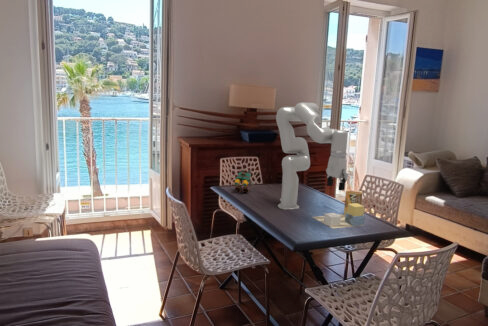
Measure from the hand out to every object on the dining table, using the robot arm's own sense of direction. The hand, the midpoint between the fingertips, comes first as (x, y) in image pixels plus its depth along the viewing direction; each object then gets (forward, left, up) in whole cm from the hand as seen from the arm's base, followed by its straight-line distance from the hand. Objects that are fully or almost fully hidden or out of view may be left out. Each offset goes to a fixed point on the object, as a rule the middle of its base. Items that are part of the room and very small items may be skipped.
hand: (335, 187), depth 197 cm
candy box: (-10, +21, -21) cm, 31 cm away
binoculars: (-76, -18, -21) cm, 81 cm away
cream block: (0, 0, -19) cm, 19 cm away
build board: (-4, +6, -21) cm, 22 cm away
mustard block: (+2, +13, -14) cm, 19 cm away
